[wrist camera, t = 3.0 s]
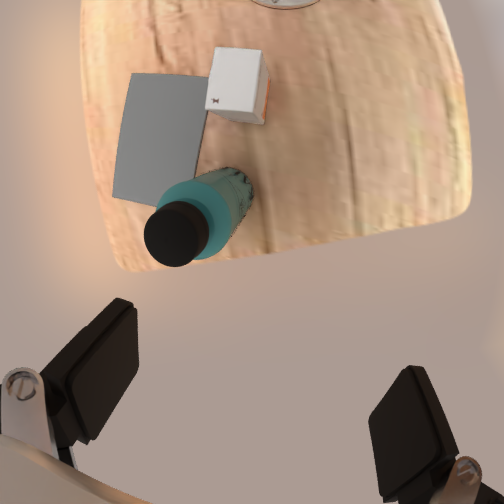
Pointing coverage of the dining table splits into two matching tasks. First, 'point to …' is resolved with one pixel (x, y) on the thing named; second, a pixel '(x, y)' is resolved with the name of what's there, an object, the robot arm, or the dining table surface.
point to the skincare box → (238, 85)
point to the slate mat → (159, 135)
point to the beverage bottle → (197, 217)
